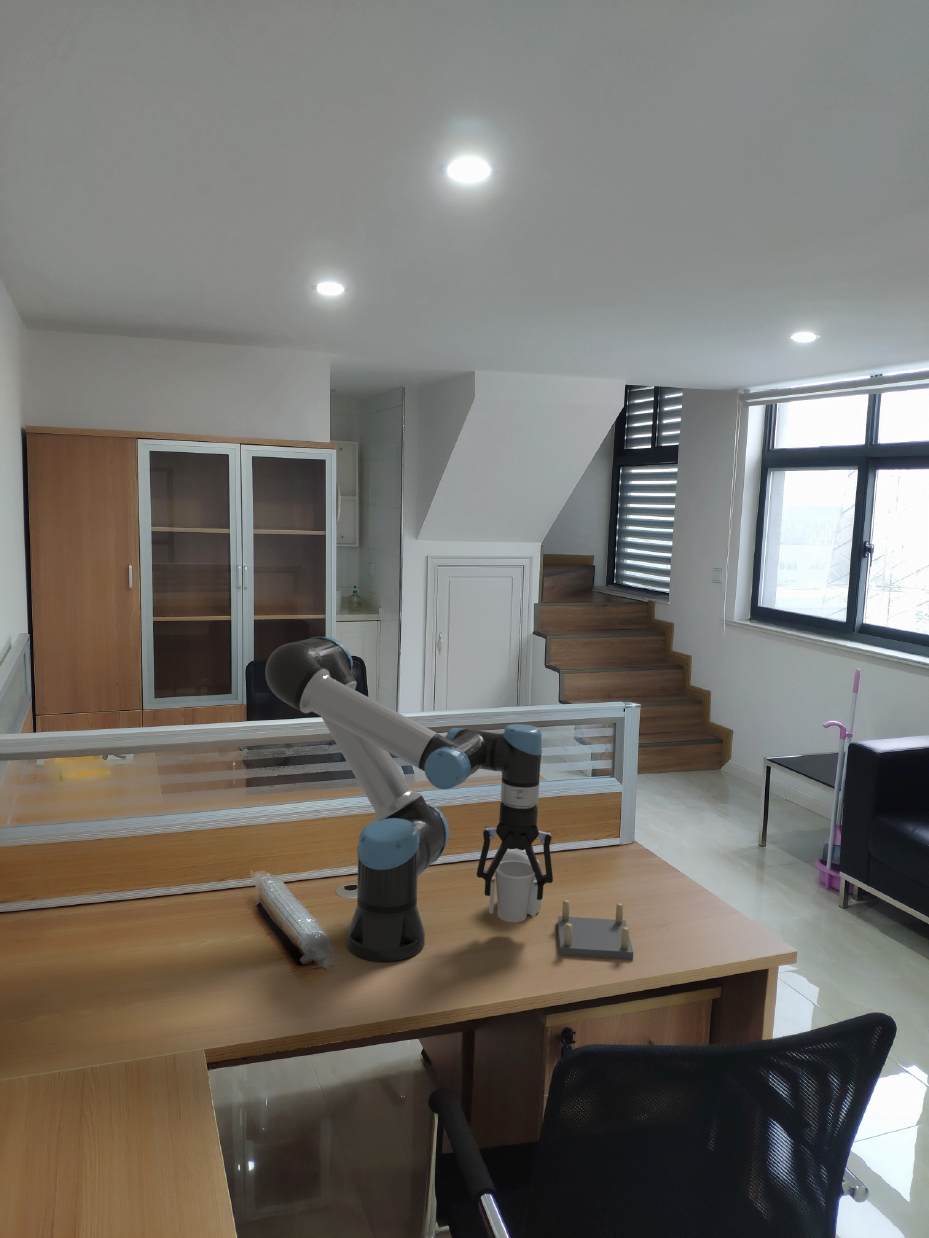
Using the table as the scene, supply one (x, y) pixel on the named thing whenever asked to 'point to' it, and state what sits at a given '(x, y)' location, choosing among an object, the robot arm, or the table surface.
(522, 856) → the photo printer
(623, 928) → the plate
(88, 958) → the table surface
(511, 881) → the dixie cup
